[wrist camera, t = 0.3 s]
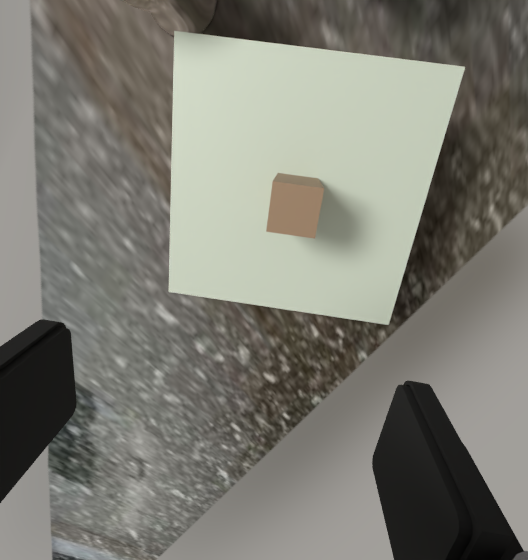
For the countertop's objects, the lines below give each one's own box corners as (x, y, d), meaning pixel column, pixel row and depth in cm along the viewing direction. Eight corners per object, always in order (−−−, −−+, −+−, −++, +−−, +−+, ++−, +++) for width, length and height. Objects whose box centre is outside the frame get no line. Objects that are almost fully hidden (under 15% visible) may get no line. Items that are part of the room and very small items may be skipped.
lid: (180, 35, 24) (135, -5, 17) (457, 70, 23) (521, 42, 17) (173, 286, 31) (139, 325, 24) (385, 318, 31) (410, 367, 24)
